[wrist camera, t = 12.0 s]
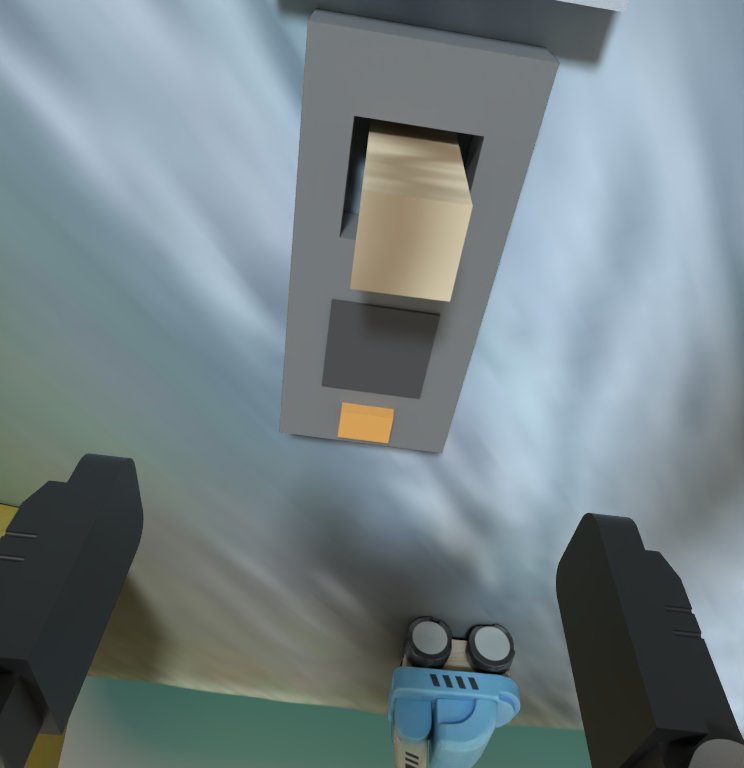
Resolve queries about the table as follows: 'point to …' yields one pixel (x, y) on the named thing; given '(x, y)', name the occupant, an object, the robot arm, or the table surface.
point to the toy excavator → (450, 694)
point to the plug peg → (411, 212)
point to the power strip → (339, 229)
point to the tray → (602, 4)
